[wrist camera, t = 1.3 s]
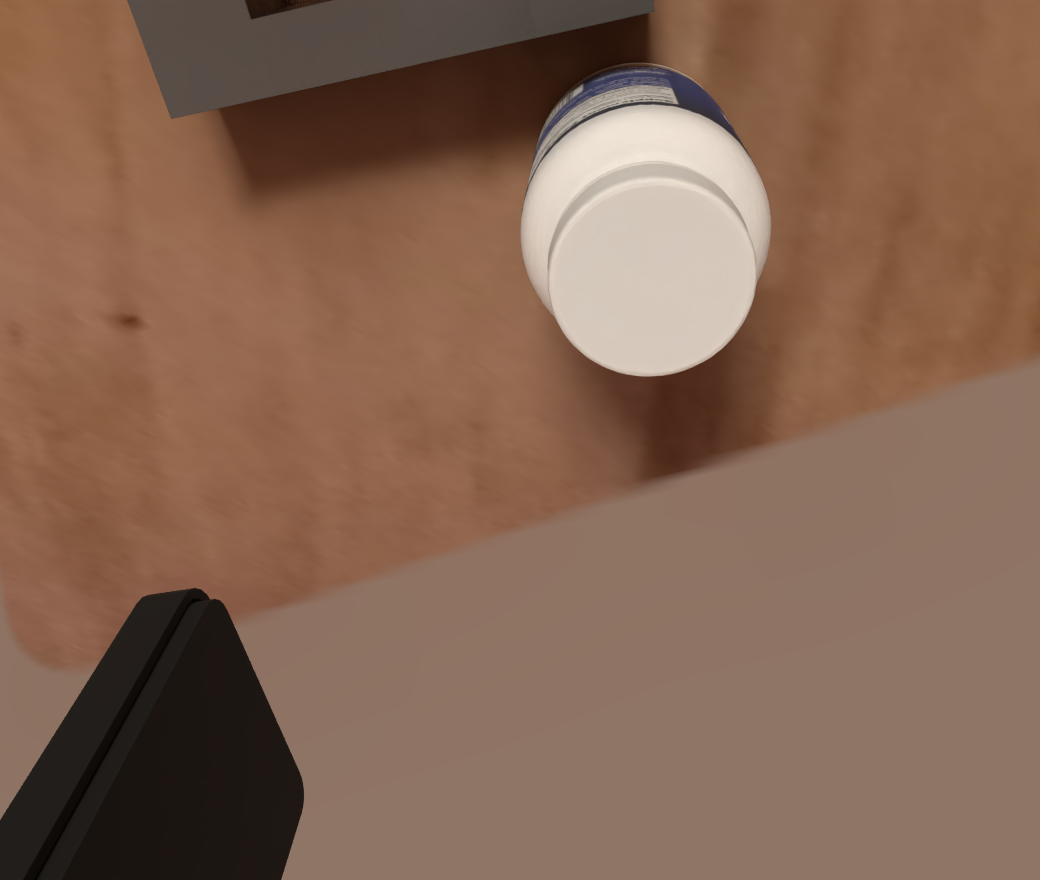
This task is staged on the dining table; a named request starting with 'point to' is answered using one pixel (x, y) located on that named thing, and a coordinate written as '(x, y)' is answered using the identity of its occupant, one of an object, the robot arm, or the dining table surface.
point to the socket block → (332, 40)
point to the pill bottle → (644, 221)
